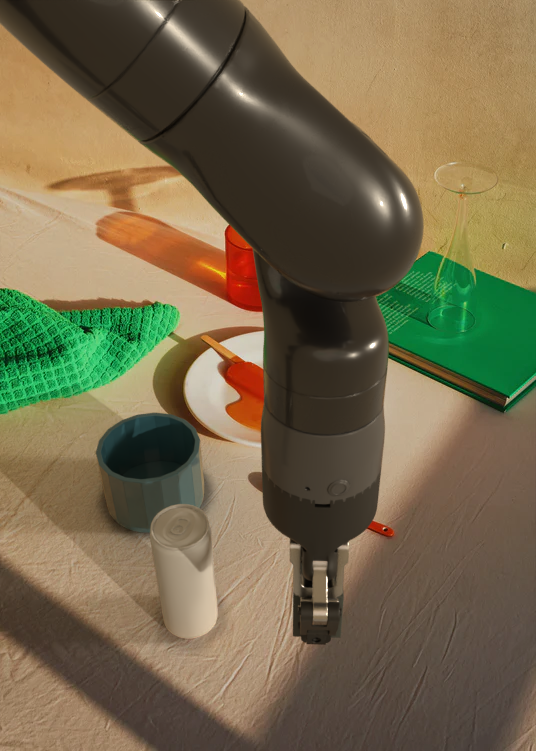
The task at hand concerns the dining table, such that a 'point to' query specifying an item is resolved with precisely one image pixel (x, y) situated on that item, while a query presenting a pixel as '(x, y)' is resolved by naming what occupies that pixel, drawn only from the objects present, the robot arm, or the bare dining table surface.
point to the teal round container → (149, 468)
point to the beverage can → (185, 570)
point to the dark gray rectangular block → (297, 617)
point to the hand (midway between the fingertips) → (315, 617)
